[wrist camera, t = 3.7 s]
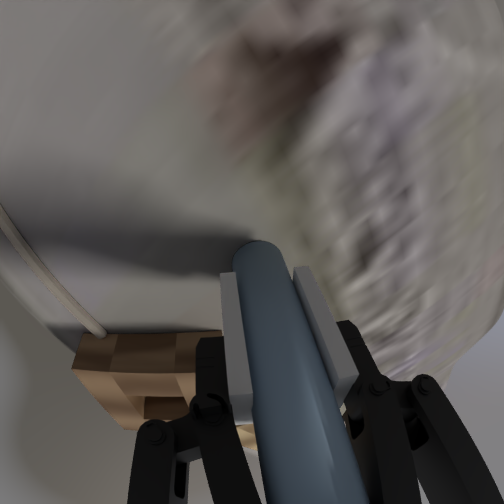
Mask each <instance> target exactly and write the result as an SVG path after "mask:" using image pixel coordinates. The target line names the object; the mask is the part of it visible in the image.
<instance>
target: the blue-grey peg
mask: <svg viewBox="0 0 504 504" xmlns="http://www.w3.org/2000/svg"><path fill="white" fill-rule="evenodd" d="M232 271H233V272H235V273H236V280H237V288H238V295H239V302H240V309H241V316H242V323H243V330H244V337H245V344H246V351H247V357H248V364H249V371H250V377H251V384H252V390H253V406H252V409H251V412H252V418H253V425H254V431H255V437H256V444H257V450H258V456H259V461H260V468H261V474H262V480H263V485H264V491H265V497H266V502H267V504H370V501H369V498H368V495H367V492H366V488H365V485H364V482H363V479H362V476H361V472H360V469H359V466H358V463H357V460H356V457H355V454H354V451H353V448H352V445H351V442H350V439H349V436H348V433H347V430H346V427H345V424H344V421H343V418H342V415H341V412H340V409H339V406H338V403H337V401H336V398H335V395H334V392H333V389H332V386H331V384H330V381H329V378H328V375H327V372H326V370H325V367H324V364H323V361H322V359H321V356H320V353H319V350H318V348H317V345H316V342H315V339H314V337H313V334H312V331H311V329H310V326H309V323H308V321H307V318H306V316H305V313H304V310H303V308H302V305H301V302H300V300H299V297H298V295H297V292H296V289H295V287H294V284H293V282H292V279H291V277H290V274H289V272H288V269H287V266H286V264H285V261H284V259H283V256H282V254H281V252H280V250H279V249H278V248H277V247H276V246H275V245H273V244H271V243H269V242H265V241H255V242H250V243H248V244H246V245H244V246H242V247H241V248H240V249H239V250H238V251H237V252H236V253H235V255H234V257H233V260H232Z"/></svg>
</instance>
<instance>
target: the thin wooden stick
mask: <svg viewBox="0 0 504 504" xmlns="http://www.w3.org/2000/svg"><path fill="white" fill-rule="evenodd" d="M0 228H1V229H2V231H3V232H4V234H5V235H6V237H7V238H8V239H9V241H10V242H11V244H12V245H13V246H14V248H15V249H16V250H17V252H18V253H19V254H20V256H21V257H22V258H23V259H24V261H25V262H26V263H27V264H28V266H29V267H30V268H31V269H32V271H33V272H34V273H35V274H36V275H37V277H38V278H39V279H40V280H41V281H42V282H43V284H44V285H45V286H46V287H47V288H48V289H49V290H50V291H51V293H52V294H53V295H54V296H55V297H56V298H57V299H58V300H59V301H60V302H61V303H62V304H63V305H64V306H65V307H66V308H67V309H68V310H69V311H70V312H71V313H72V314H73V315H74V316H75V317H76V318H77V319H78V320H79V321H80V322H81V323H82V324H83V325H84V326H85V327H86V328H87V329H88V330H89V331H90V332H91V333H92V334H94V335H95V336H96V337H97V338H98V339H102V338H104V337H106V334H107V331H106V330H105V329H104V328H103V327H102V326H100V325H99V324H98V323H97V322H96V321H95V320H94V319H93V318H92V317H91V316H90V315H89V314H88V313H87V312H86V311H85V310H84V309H83V308H82V307H81V306H80V305H79V304H78V303H77V302H76V301H75V300H74V299H73V297H72V296H71V295H70V294H69V293H68V292H67V291H66V290H65V289H64V288H63V287H62V285H61V284H60V283H59V282H58V281H57V280H56V279H55V278H54V276H53V275H52V274H51V273H50V272H49V270H48V269H47V268H46V267H45V266H44V264H43V263H42V262H41V261H40V260H39V258H38V257H37V256H36V254H35V253H34V252H33V251H32V249H31V248H30V247H29V245H28V244H27V243H26V241H25V240H24V239H23V237H22V236H21V234H20V233H19V232H18V230H17V229H16V227H15V226H14V225H13V223H12V222H11V220H10V219H9V217H8V216H7V214H6V212H5V211H4V209H3V208H2V206H1V205H0Z"/></svg>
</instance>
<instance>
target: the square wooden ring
mask: <svg viewBox="0 0 504 504" xmlns="http://www.w3.org/2000/svg"><path fill="white" fill-rule="evenodd" d="M218 336H222V330H221V331H206V332H188V333H162V334H106V337H104V338H102V339H98V338H97V337H96V336H95V335H94V334H88V333H83V336H82V338H81V341H80V344H79V347H78V350H77V353H76V356H75V359H74V362H73V365H72V368H71V369H72V370H73V372H74V373H75V374H76V376H77V377H78V378H79V379H80V381H81V382H82V383H83V384H84V386H85V387H86V388H87V389H88V391H89V392H90V393H91V394H92V395H93V396H94V398H95V399H96V400H97V401H98V402H99V403H100V404H101V405H102V406H103V408H104V409H105V410H106V411H107V412H108V413H109V414H110V415H111V416H112V417H113V418H114V419H115V420H116V421H117V422H118V423H119V424H120V425H121V426H122V427H123V428H124V429H126V430H139V427H140V426H141V425H142V424H143V423H144V422H146V421H148V420H151V419H159V420H163V421H165V422H168V421H172V420H175V419H178V418H181V417H183V416H185V415H187V414H188V413H189V412H190V411H189V403H190V401H191V400H192V398H193V397H194V396H195V395H196V388H195V369H196V367H195V360H196V358H195V354H196V346H197V344H198V342H199V340H200V338H203V337H218Z"/></svg>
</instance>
